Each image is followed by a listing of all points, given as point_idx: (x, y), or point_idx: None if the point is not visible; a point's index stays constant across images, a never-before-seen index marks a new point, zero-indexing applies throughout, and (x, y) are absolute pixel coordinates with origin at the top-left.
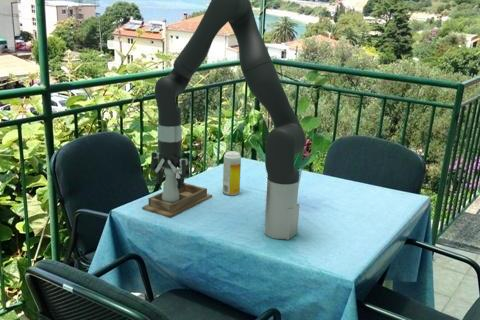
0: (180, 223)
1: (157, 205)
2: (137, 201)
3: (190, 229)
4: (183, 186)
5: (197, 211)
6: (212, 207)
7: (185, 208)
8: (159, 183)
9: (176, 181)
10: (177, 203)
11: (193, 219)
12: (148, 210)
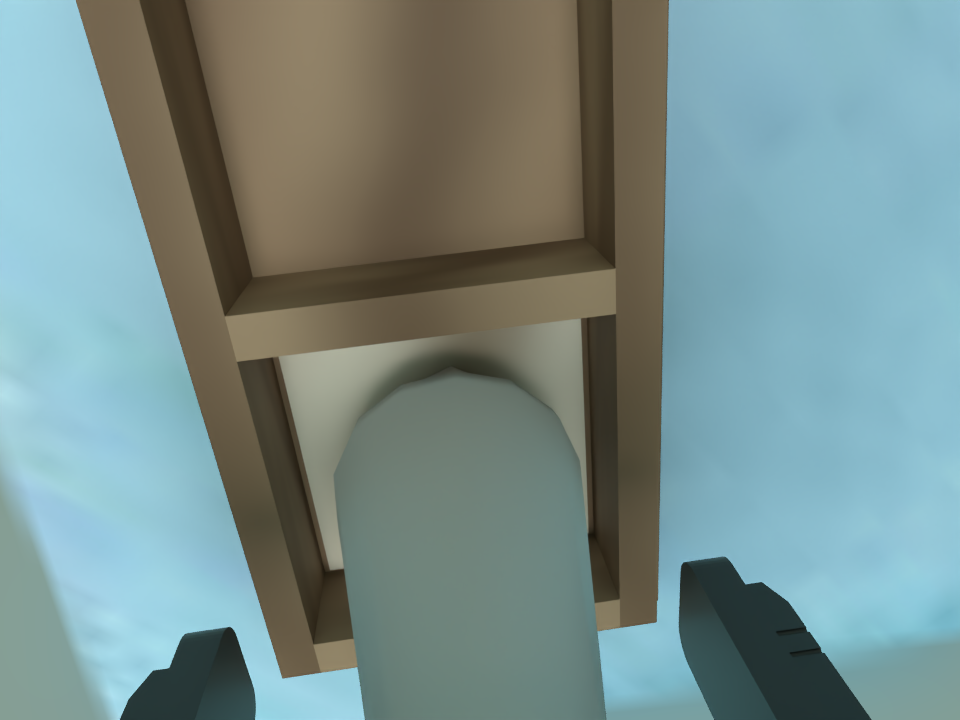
0: (790, 585)
1: None
2: (49, 561)
3: (925, 599)
4: (768, 592)
5: (775, 291)
6: (874, 53)
7: (661, 386)
8: (253, 694)
9: (591, 644)
10: (654, 535)
11: (847, 460)
12: None
